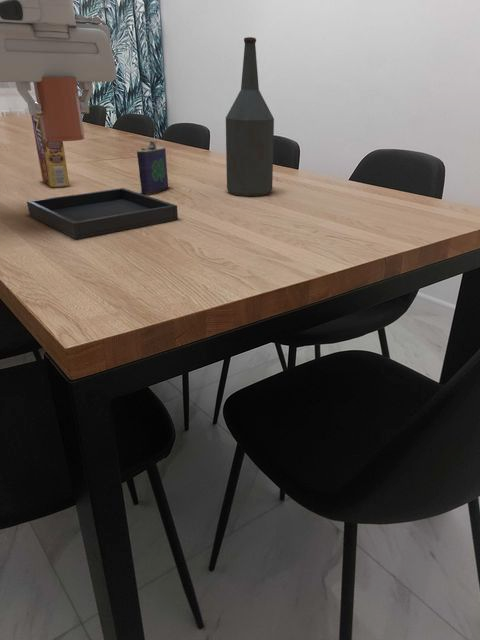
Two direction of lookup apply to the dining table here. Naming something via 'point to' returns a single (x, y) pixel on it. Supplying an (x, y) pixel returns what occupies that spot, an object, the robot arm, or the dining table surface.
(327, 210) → the dining table surface
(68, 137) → the cup
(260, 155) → the bottle
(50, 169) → the candy box
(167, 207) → the tray
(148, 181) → the flask
